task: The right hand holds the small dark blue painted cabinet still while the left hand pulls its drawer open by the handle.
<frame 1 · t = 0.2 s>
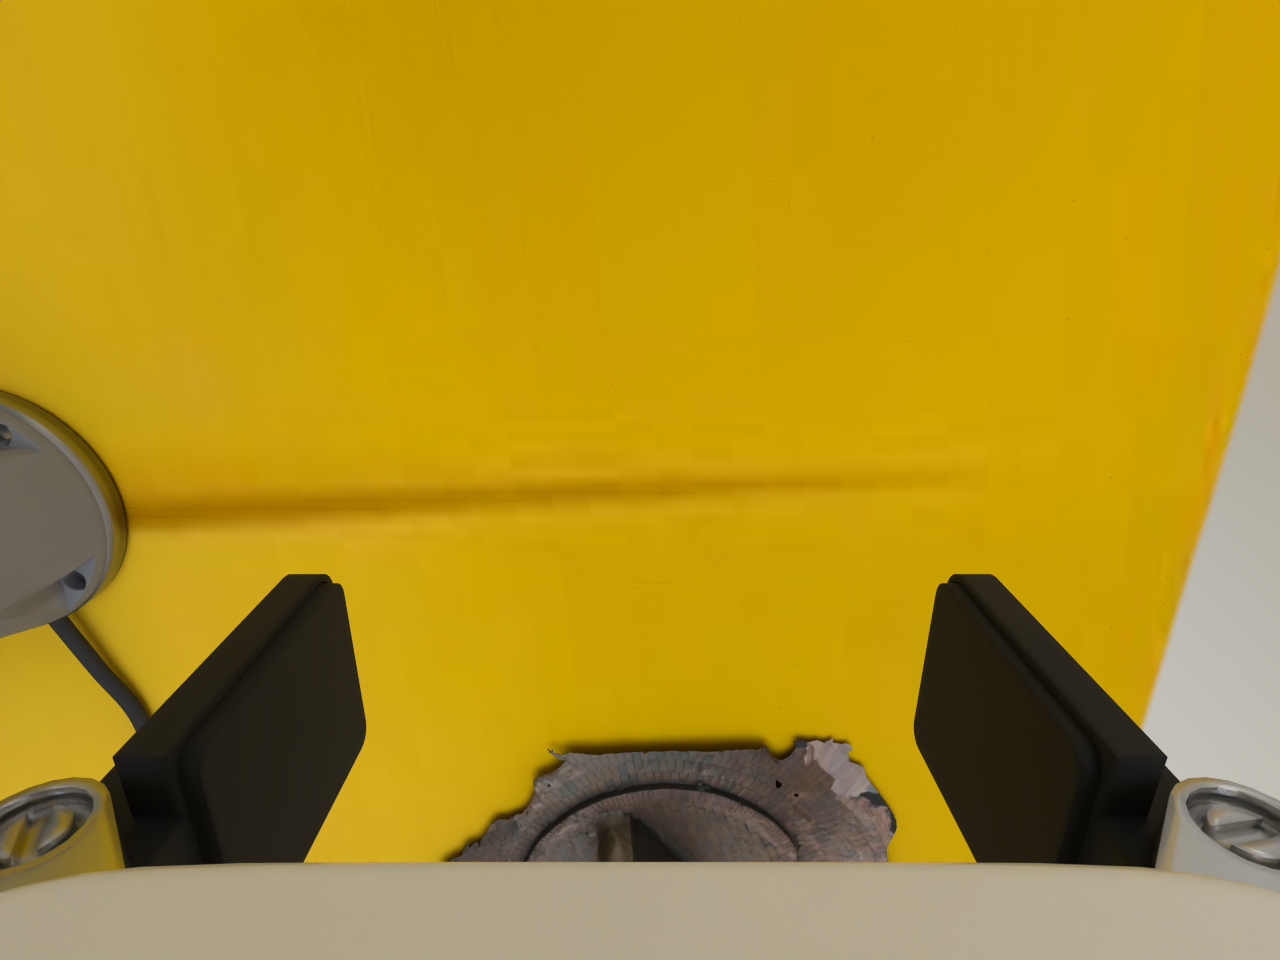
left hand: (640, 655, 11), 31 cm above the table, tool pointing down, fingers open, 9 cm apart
sculpture: (670, 880, 56), on the table
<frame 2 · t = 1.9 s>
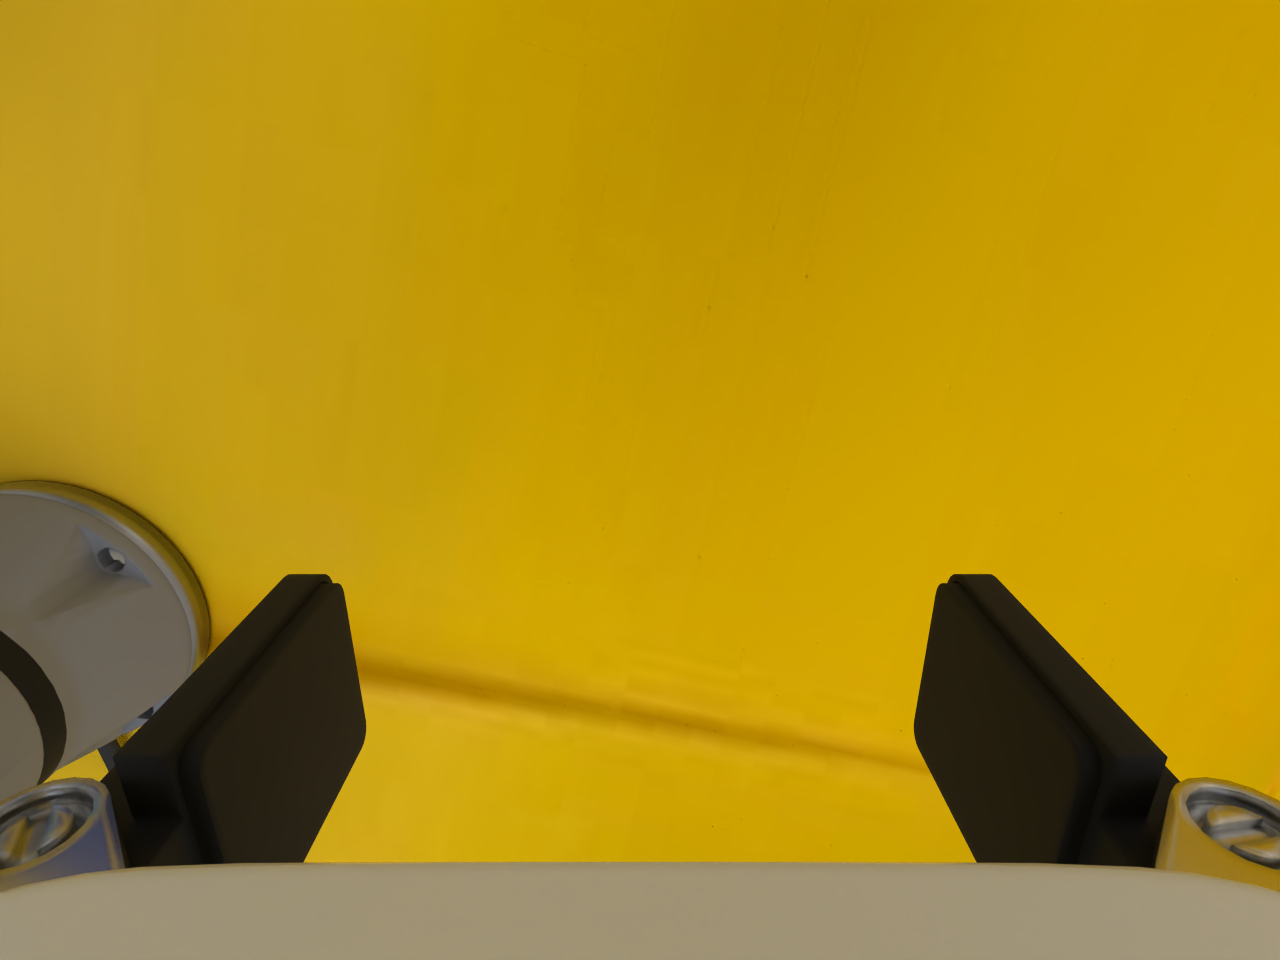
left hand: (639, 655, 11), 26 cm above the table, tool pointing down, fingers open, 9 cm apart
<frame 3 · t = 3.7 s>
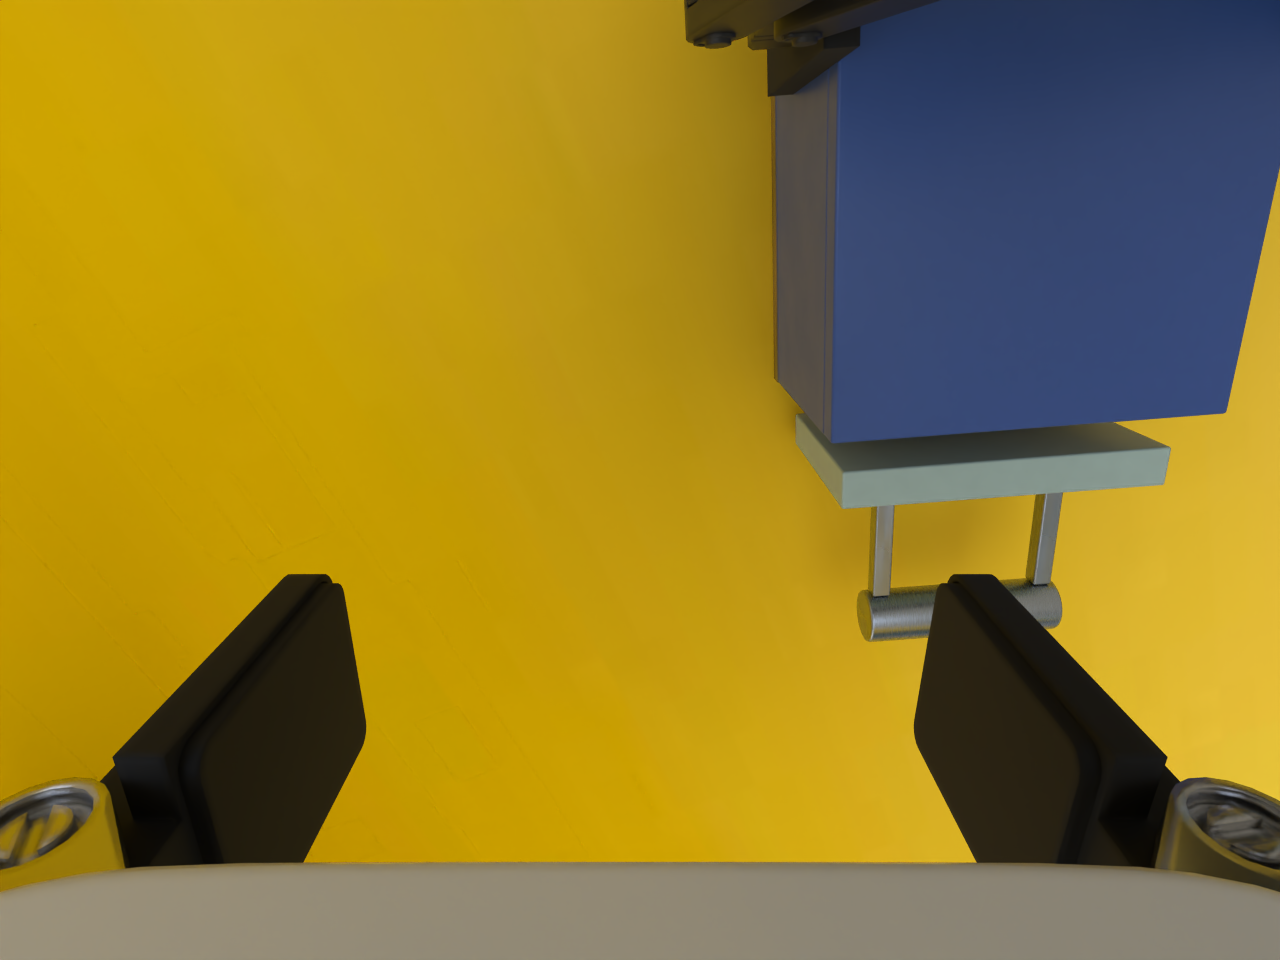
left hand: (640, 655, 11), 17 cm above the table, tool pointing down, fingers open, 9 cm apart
drawer: (964, 367, 23), point 4 cm above the table, slide at 1.2 cm
cabinet: (926, 172, 25), on the table, touching right hand
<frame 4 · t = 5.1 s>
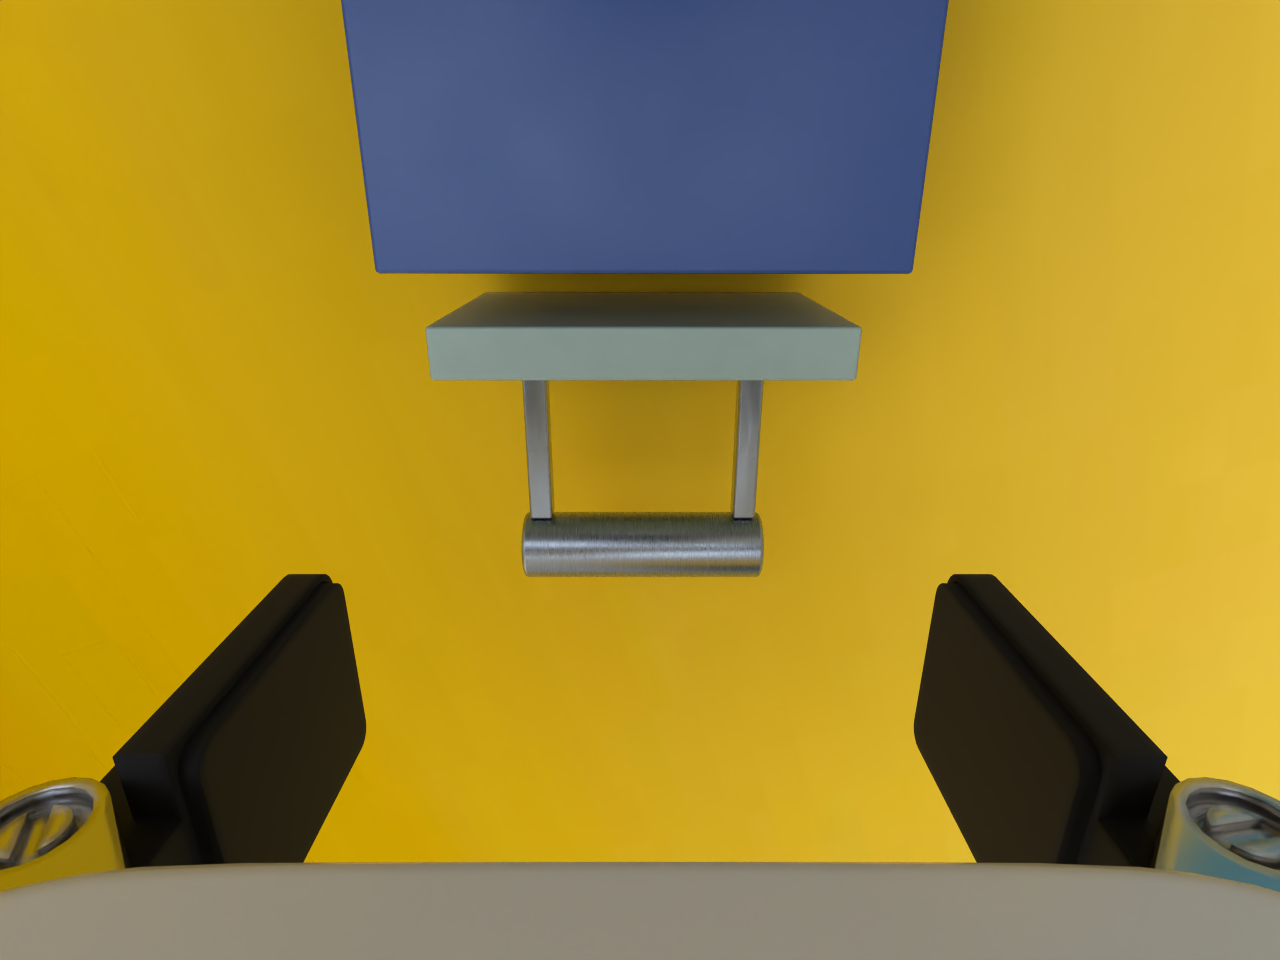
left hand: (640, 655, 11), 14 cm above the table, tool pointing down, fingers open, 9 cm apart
drawer: (643, 223, 18), point 4 cm above the table, slide at 1.2 cm
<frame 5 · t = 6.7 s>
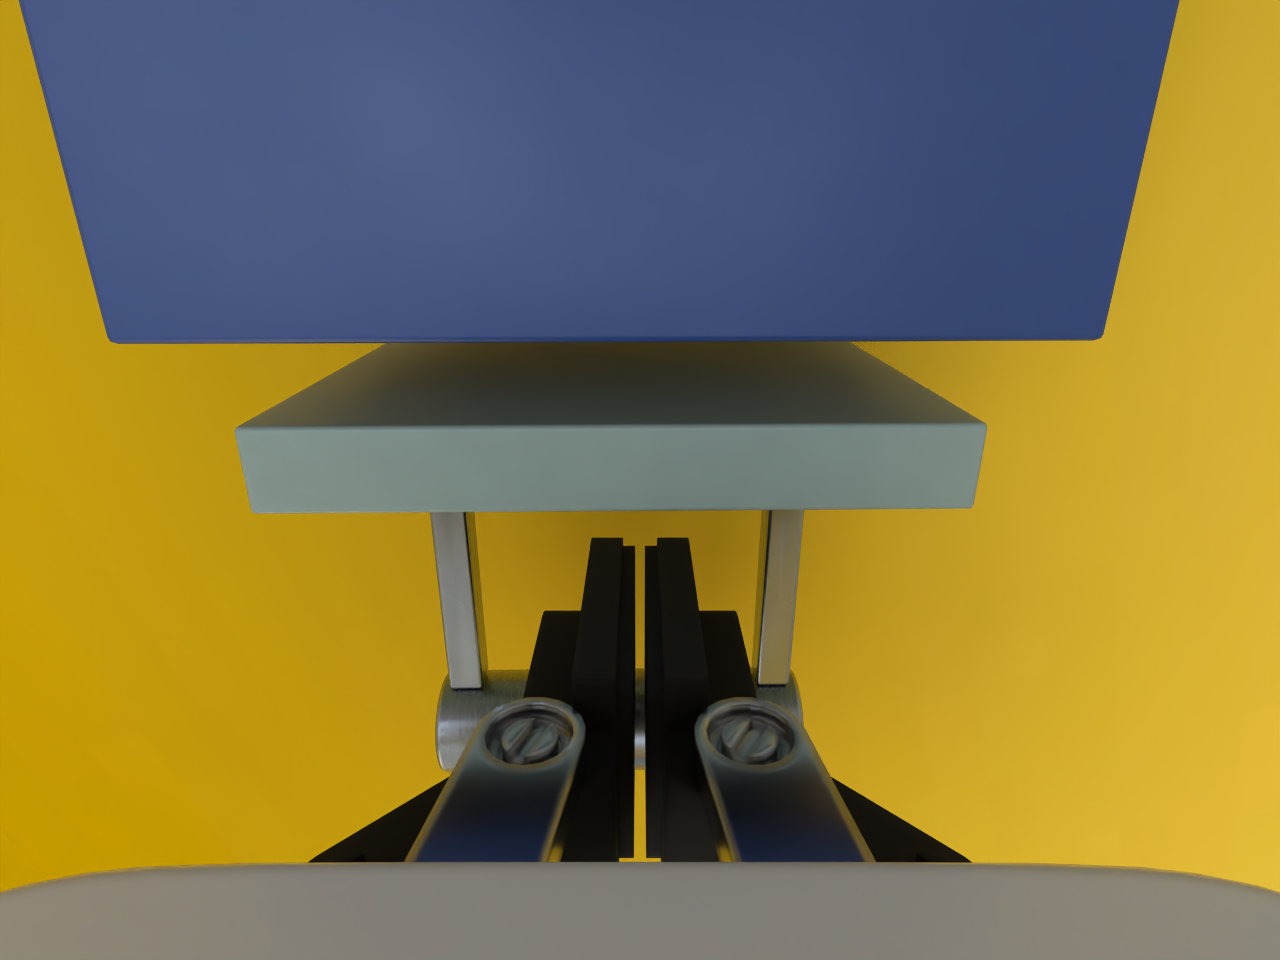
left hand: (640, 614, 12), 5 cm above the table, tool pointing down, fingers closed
drawer: (615, 243, 11), point 4 cm above the table, slide at 1.2 cm, touching left hand
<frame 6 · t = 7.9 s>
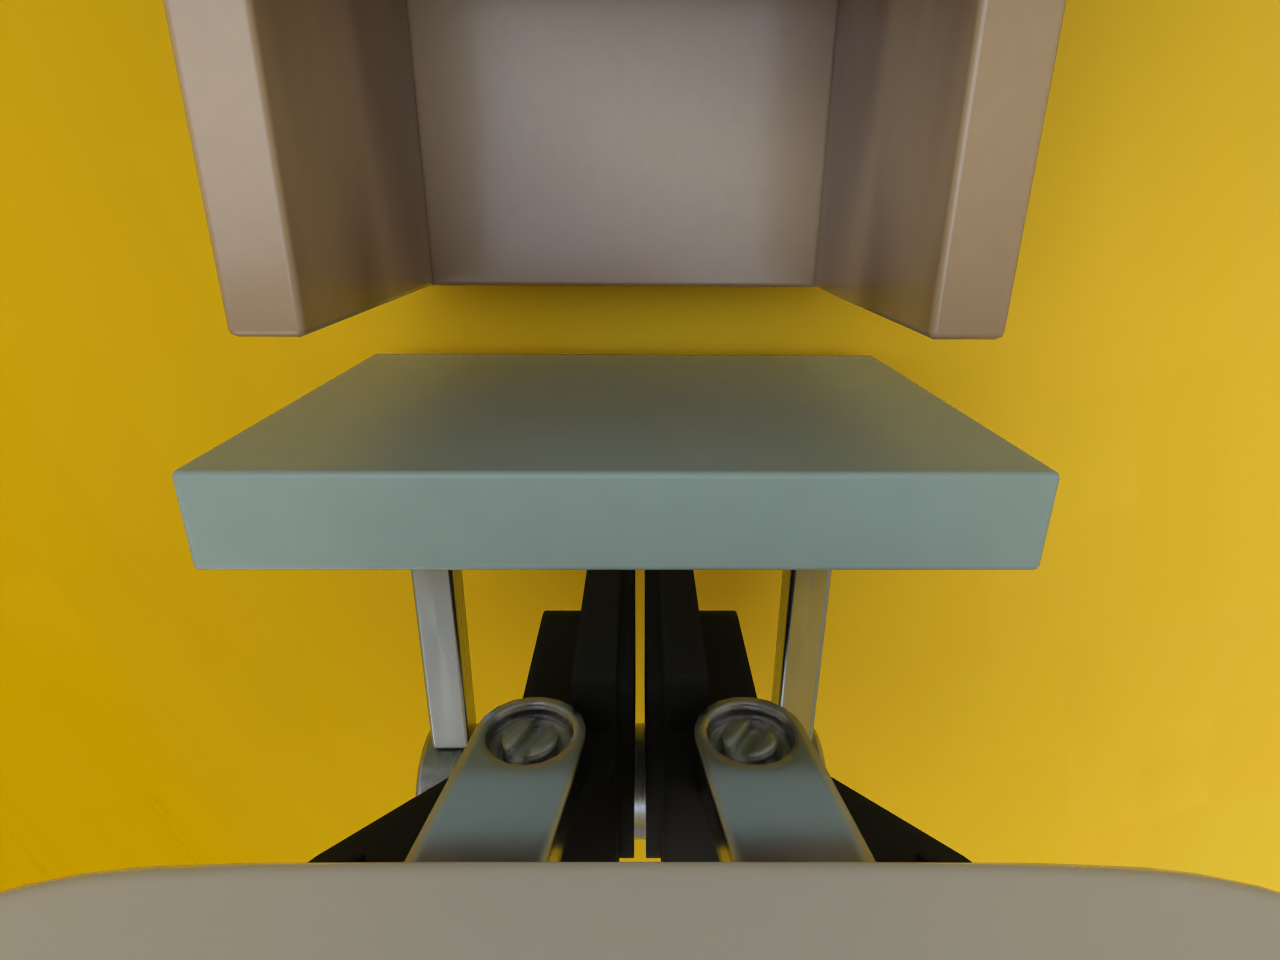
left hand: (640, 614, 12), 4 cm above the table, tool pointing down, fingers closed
drawer: (622, 253, 10), point 4 cm above the table, slide at 6.9 cm, touching left hand
when the right hand's fingers open (4 cm above the table, at t = 9.8 s): cabinet stays where it is, on the table.
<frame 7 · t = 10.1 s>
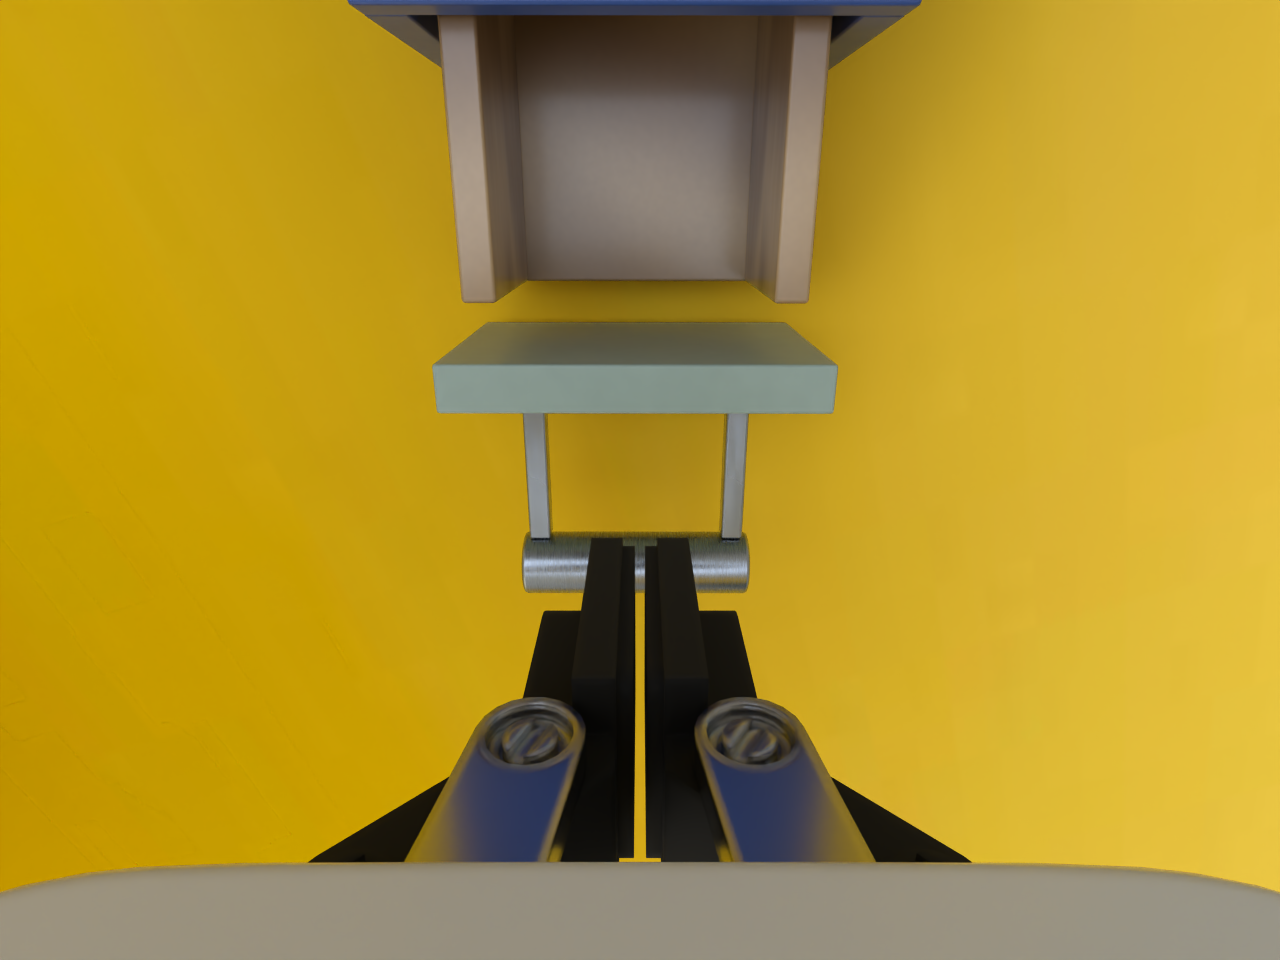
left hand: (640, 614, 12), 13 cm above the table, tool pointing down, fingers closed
drawer: (635, 263, 19), point 4 cm above the table, slide at 7.0 cm
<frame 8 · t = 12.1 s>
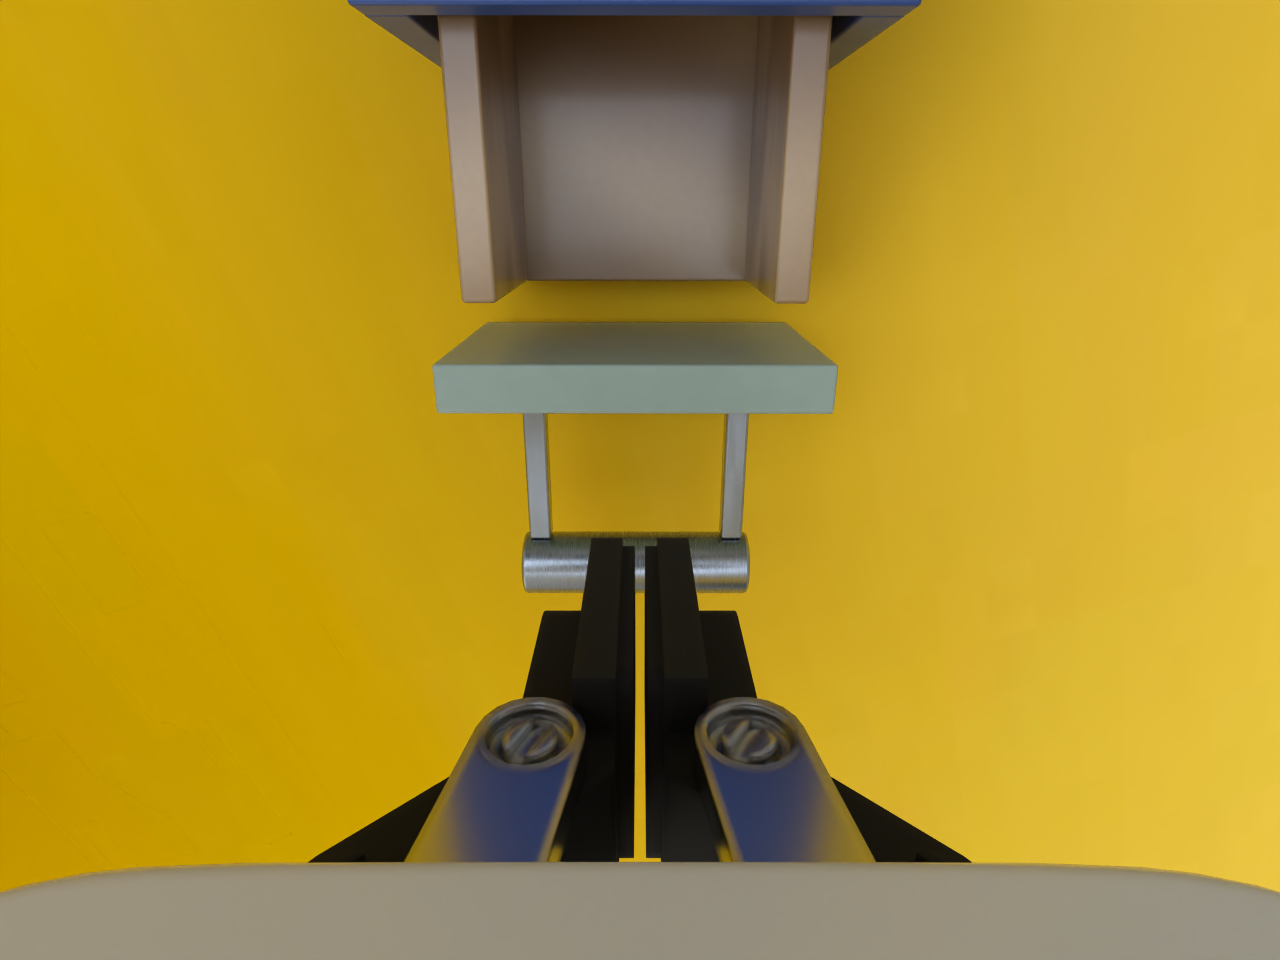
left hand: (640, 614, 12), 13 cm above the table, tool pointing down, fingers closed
drawer: (635, 263, 19), point 4 cm above the table, slide at 7.0 cm
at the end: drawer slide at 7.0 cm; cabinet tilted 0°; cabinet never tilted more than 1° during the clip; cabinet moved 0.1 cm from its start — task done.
